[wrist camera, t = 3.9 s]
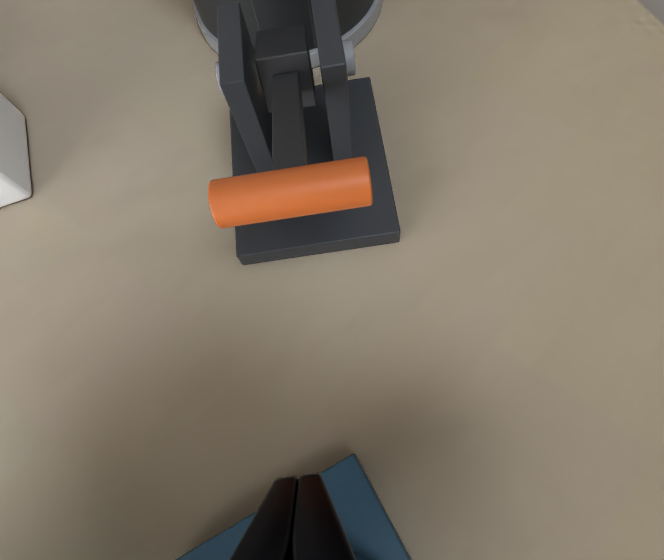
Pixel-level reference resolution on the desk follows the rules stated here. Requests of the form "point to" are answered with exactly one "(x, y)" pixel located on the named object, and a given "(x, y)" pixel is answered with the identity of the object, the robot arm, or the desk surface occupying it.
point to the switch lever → (289, 147)
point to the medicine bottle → (13, 155)
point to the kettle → (290, 19)
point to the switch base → (321, 141)
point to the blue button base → (353, 511)
